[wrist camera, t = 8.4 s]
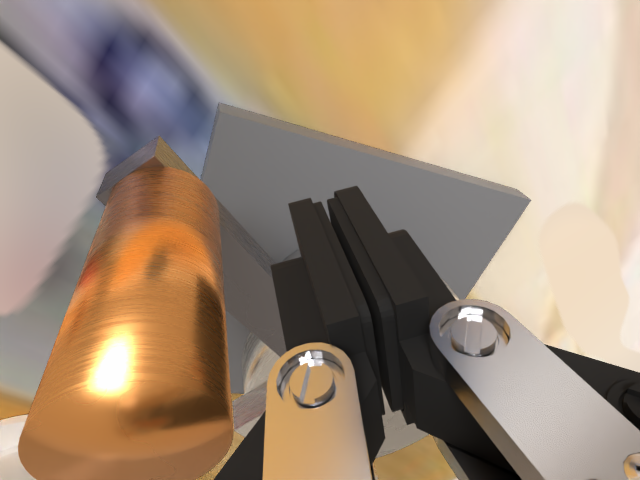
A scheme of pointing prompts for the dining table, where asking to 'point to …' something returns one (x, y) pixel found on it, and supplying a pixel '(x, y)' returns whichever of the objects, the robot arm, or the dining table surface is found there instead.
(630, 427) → the robot arm
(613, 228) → the dining table surface
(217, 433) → the multicoloured piece
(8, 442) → the decorative vase
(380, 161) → the thin grey metal plate
